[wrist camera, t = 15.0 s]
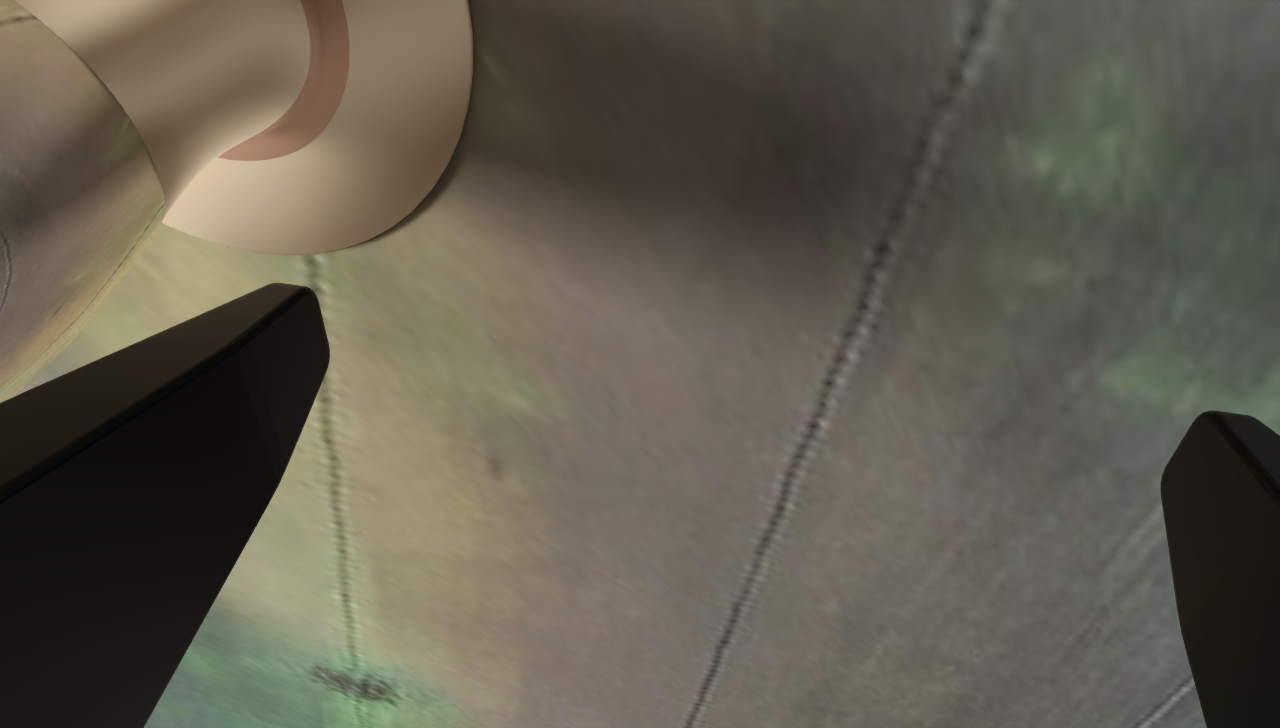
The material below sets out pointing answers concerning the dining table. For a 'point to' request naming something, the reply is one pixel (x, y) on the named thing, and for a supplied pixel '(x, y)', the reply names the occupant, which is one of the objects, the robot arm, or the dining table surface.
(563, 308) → the dining table surface
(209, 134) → the silver tall cup
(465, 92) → the coaster
